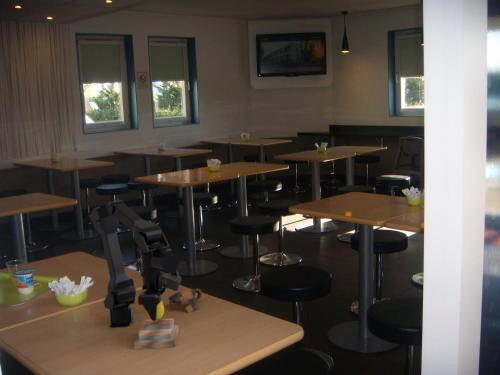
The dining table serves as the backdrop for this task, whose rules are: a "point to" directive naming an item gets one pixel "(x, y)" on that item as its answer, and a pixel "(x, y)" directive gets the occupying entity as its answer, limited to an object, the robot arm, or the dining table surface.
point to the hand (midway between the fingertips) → (155, 316)
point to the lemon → (158, 311)
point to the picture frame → (157, 334)
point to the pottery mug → (187, 298)
